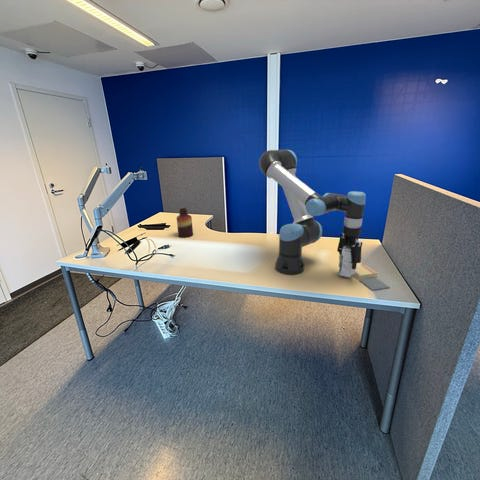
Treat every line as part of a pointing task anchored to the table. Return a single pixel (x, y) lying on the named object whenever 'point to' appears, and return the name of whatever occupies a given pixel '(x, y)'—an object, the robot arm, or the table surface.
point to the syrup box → (345, 261)
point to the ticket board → (364, 272)
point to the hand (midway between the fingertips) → (346, 270)
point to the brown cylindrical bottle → (184, 224)
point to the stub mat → (374, 284)
